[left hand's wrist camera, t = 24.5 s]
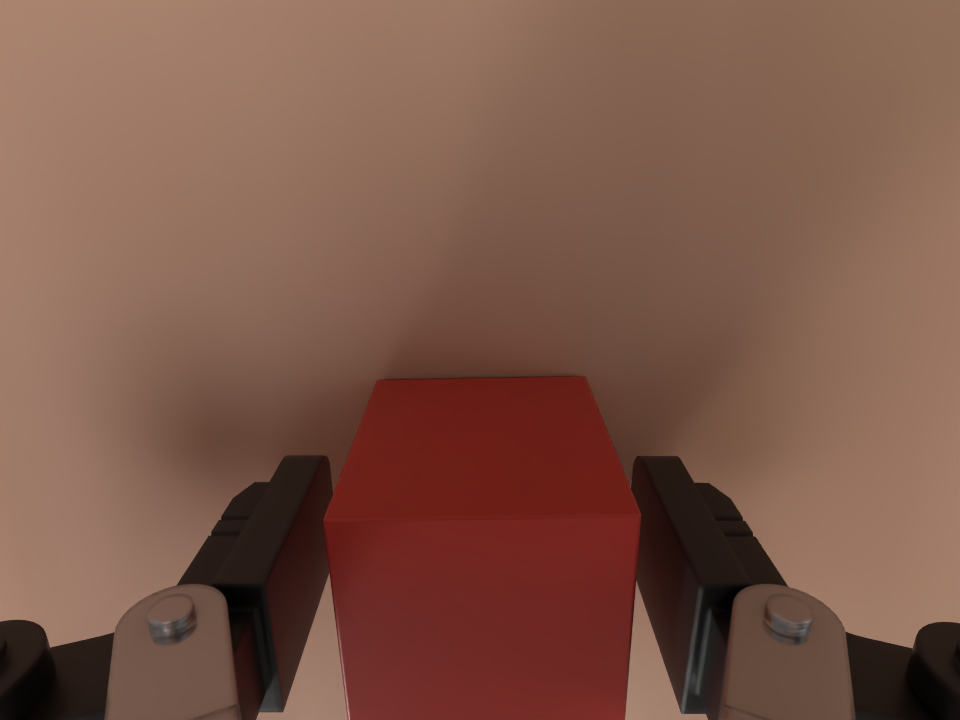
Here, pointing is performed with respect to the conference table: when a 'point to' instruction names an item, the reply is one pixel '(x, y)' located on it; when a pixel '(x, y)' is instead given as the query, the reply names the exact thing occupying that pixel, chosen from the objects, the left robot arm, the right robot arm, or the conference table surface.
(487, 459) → the block
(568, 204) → the conference table surface
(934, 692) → the left robot arm
